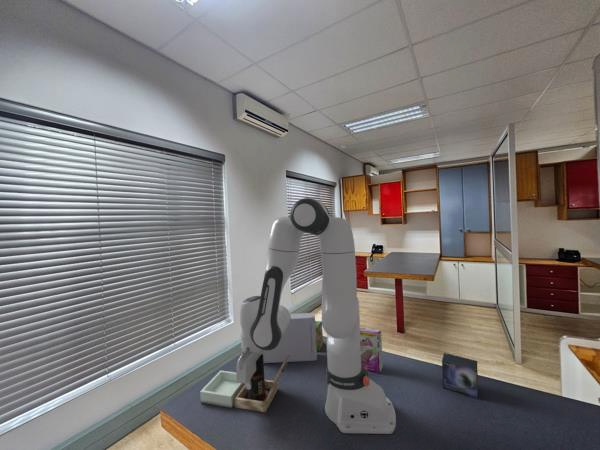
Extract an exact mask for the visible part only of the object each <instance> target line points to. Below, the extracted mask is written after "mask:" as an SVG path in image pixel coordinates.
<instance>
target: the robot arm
mask: <svg viewBox="0 0 600 450" xmlns="http://www.w3.org/2000/svg"><path fill="white" fill-rule="evenodd" d="M289 212H290V213H289V216H280V217H278V218H276V219H275V220H274V221H273V223H272V226H271V230H270V234H269V238H268V242H267V243H268V244H267V252H266V260H265V261H266V262H265V270H264V277H263V282H262V287H261V292H260V295H253V296H250V297H248V298H246V299H244V300H243V301H242V302H241V304H240V312H239V323H240V327H241V331H240V343H241V345H240V346H241V350H242V351H243V352H242V353H241V354H240V357H239V358H238V360H237V363H236V380H237V382H238V383H243V384H246V389H249V390H250V389H251V387H252V382H251V381H250V380H251V377H252V376H253V374H254V373H255V371H256V361H257V359H258V358H259V357H260V355H261V354H263V361H264V362H265V358H266V356H267V355H268V354H269V351H270V350H273V349H275V348H276V347H277V346H278V344H279V342H280V340H281V338H282V336H283V335H284V333H285V331H286V330H287V328H288V326H289V325H290V322H291V316H290V314H291V313H290V311H289V310H288V309H287V308H286V307H285V306H283V305H281V297H282V293H283V290H284V287H285V285H286V284H287V281H288V279H290V277H291V276H292V274H293V273H294V272H295V270H296V269H297V265H298V261H299V258H300V257H299V256H300V249H301V241H302V238H303V236H304V235H305V234H310V235H314V236H318V238H319V241H320V252H321V253H320V254H321V255H320V256H321V270H322V271H321V272H322V279H321V280H322V284H321V322H322V329H323V330H324V332H325V333H326V357H327V358H326V361H327V364H326V370H325V371H326V373H325V374H326V383H327V394H326V399H325V400H326V401H325V404H324V411H325V415H326V416H327V417H328V419H329V420H330V421H331V422H333V423H334V424H335V425H336V427H337V428H338V430H339V431H340V432H341V433H343V434H372V435H373V434H375V435H377V434H380V435H382V434H383V435H385V434H386V435H391V434H393V432H394V431H395V430H396V426H397V415H396V411H395V406H394V404H393V402H392V401H391V400H390V398H388V397H387V396H386V394H385V391H384V388H382V386H380V385H379V384H378V383H376V382H375V381H373V380H372V379H371V378H370V377H369V370H367V367H366V368H364V367H362V366H361V350H360V326H361V325H360V323H361V321H360V301H359V298H358V290H357V289H358V288H357V287H358V286H357V285H358V282H357V281H358V280H357V264H356V263H357V262H356V261H357V260H356V247H355V246H356V245H355V239H354V233H353V230H352V226H351V223H350V221H348V220H347V219H345V218H343V217H332V216H331V215H330V211H329V210H328V208H327V206H326V205H325V204H324V203H323V202H322V201H320V200H318V199H315V198H310V197H304V198H300V199H299V200H297V201H296V202H294V204H293V205H292V207H291V209H290V211H289Z"/></svg>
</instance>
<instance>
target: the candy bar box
mask: <svg viewBox="0 0 600 450" xmlns="http://www.w3.org/2000/svg"><path fill="white" fill-rule="evenodd" d="M382 345H383V341H382V330H381V329H377V328H371V327H367V326H364V325H360V350H361V366H362V367H364V368H366V367H367V371H368V372H373V373H377V374H381V373H382V370H383V368H384V365H383V347H382Z"/></svg>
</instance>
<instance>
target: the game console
mask: <svg viewBox="0 0 600 450" xmlns="http://www.w3.org/2000/svg"><path fill="white" fill-rule="evenodd" d="M290 316H291V322H290V325H289V326H288V328H287V330H286V331H285V333H284V335H283V336H282V338H281V340H280V342H279V344H278V346H277V347H276V348H275V349H273V350H270V351H269V354H268V355H267V356H266V358H265V362H264V364H270V363H271V364H273V363H274V364H275V363H283V362H284V361H285V359H286V357H287V356H288V355H289V358H288V360H287V363H289V362H290V363H291V362H293V363H294V362H296V363H297V362H312V361H313V362H316V361H317V360H318V351H317V350H316V330H315V321H316V316H315V312H305V313H304V312H302V313H301V312H300V313H290Z"/></svg>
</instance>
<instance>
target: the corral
mask: <svg viewBox="0 0 600 450" xmlns="http://www.w3.org/2000/svg"><path fill="white" fill-rule="evenodd" d="M273 382H274V380H270V379H265V390H270V389H271V387H272V385H273ZM278 385H279V383H278V384H277V386H276V387H275V389H274V391H273V393H272V395H271V397H270V398H269V400H268V402H267V404H266V403H265V402H266V399H267V397H268V394H269V392H268V393H267V395H266V396H265V399H264V401H257V400H251V399H249V398H245V397H246V395H247V393H249V391H248V389H246V384H245V385H244V386H243V388H242V389H241V390H240V392H239V393H238V394H237V396H236V397H235V398H234V402H235V404H234V408H236V409H243V410H249V411H255V412H261V413H267V410H268V408H269V407H270V405H271V403H272V401H273V399H274V398H275V396H276V394H277V392H278V390H279V386H278Z"/></svg>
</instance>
